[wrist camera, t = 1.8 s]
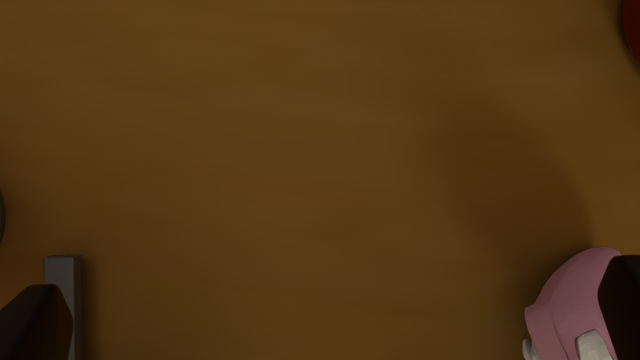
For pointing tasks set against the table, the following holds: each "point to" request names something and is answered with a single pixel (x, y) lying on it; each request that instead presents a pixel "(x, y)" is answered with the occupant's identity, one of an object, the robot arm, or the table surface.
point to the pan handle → (68, 292)
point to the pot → (1, 216)
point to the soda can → (632, 26)
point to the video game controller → (571, 312)
